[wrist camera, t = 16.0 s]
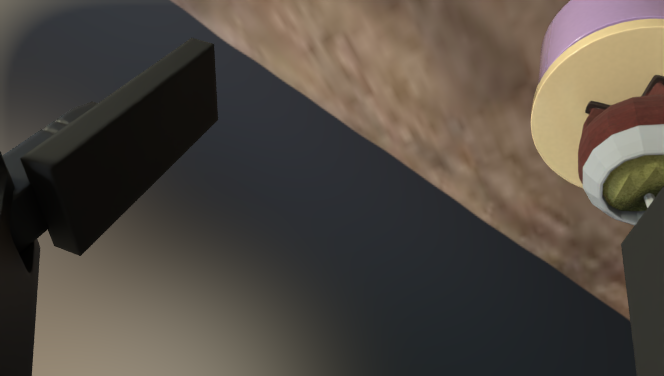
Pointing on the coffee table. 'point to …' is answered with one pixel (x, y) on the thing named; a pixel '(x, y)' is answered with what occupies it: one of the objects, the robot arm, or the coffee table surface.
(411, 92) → the coffee table surface
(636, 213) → the mate gourd
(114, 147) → the robot arm
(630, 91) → the jar
